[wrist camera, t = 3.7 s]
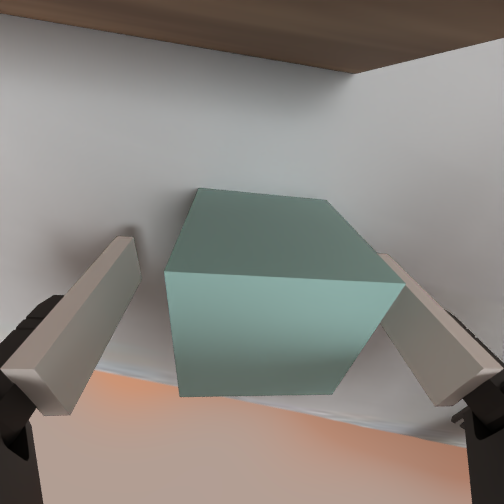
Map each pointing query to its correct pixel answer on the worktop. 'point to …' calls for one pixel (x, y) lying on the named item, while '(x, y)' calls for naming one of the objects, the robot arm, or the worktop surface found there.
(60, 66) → the worktop surface
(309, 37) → the walnut block
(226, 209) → the teal cube
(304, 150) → the worktop surface
